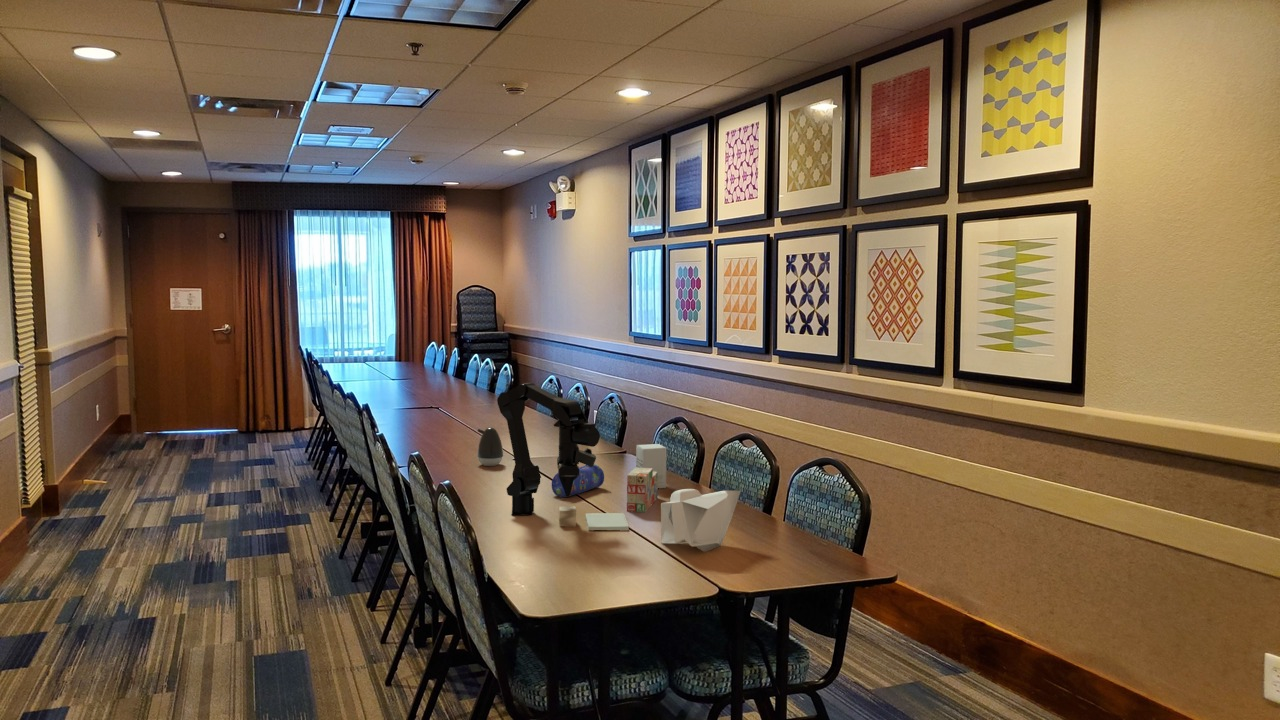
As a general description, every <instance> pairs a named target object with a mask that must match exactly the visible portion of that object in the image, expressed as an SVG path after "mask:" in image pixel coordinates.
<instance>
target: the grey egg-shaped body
mask: <svg viewBox="0 0 1280 720" xmlns="http://www.w3.org/2000/svg"><path fill="white" fill-rule="evenodd" d="M477 432H478V433H479V434H481V436H480V440H479V443H478V447H477V458H478V461H479V463H480V464H481V465H483V466H485V467H495V466H499V464H500V463H502V459H503V457H504V450H503V449H504V448H503V445H502V439H501V437H500V435H499V432H498V431H497V429H495V428H493V427H486V429H483V430H482V429H480V428H478V429H477Z"/></svg>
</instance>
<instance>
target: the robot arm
mask: <svg viewBox="0 0 1280 720" xmlns="http://www.w3.org/2000/svg"><path fill="white" fill-rule="evenodd" d="M529 400H530V401H532V402H534V403H536V404H538V405H541V406H542V407H544V408H546V409H548V410H549V411H550V412H551V414H552V415H553V416H554V418H556V419H557V421H556V422H555V423H554V424H553V427H556V428H558V456H557V458H556V464H557V471H558V472H557V473H558V475H559V479H560V481H561V484H562V486H563V489H564V492H565V494H566V497H568V498H569V497H571V496H570V494H571V490H572V485H573V481H574V480H575V479H576V478H578V477H579V468H580V466H578V465H579V464H582V465H588V466H589V467H593V465H594V464H595V462H596V460H597V456H596V455H595V454H594V453H593V452H592V449H590V448H588V447H591V448H594V447H595V446H598V444H599V442H600V438H601V434H600V432H599V430H598V428H596V424H595V423H594V422H593V423H589V420H588V419H587V417H586V415H585V412H584V410H583V408H582V407H581V403H580V402H579V401H577V400H574V399H570V398H562V397H560V396H557V395H555V394H553V393H551V392H549V391H547V390H545V389H544V388H542V387H540V386H537V384H535V383H534V382H526V383H524V382H523V383H520V384H519V385H517V386H516V387H513V388H512V389H509V390H507V391H502V392H500V393H499V394H498V397H497V399H496V403H497V406H498V409H499V412H500V414H501V415H502V416H503V418H504V419H505V420H506V424H507V428H508V434H509V438H510V444H511V448H512V454H513V460H514V467H513V469H512V475H511V476H512V482H510V484H509V485H508V486H507V487H506V488H505V489H506V494H507V496H509V497H510V496H511V501H512V503H511V516H532V515H533V512H535V497H533V494H537V493H538V489H539V487H540V484H541V479H542V475H541V473H540V467H539V465H535V464H534V463H533V462H532V460H531V456H530V450H529V445H528V440H527V434H526V428H525V425H524V420H523V416H524V412H525V409H526V403H527V402H528V401H529ZM579 445H580V446H586V447H587V448H585V449H584V450H583V449H582V450H581V449H580V448H579ZM566 497H565V498H566Z"/></svg>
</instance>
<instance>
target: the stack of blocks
mask: <svg viewBox="0 0 1280 720" xmlns="http://www.w3.org/2000/svg"><path fill="white" fill-rule="evenodd" d="M626 479H627V484H626V491H627V492H626V512H631V511H633V512H635V513H646V512H647V511H648V510H649V509H650V508H649V507H651V506H652V505H653V503H654V502H655V501H656V500H657V498H658V481H657V472H653V468H636V466H635V467H634V468H633V469H632V470H631V471H630V472H629V473H627V478H626ZM651 504H652V505H651ZM648 508H649V509H648ZM633 512H632V513H633Z"/></svg>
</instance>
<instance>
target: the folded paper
mask: <svg viewBox="0 0 1280 720" xmlns="http://www.w3.org/2000/svg"><path fill="white" fill-rule="evenodd" d="M741 492H742V491H741V490H721V491H715V492H710V493H706V494H702V493H701V492H700V491H699V490H698V489H696V488H695V489H694V488H684V489H683V488H682V489H679V490H674V491H673V492H672V493H671V495H670V499H669V500H670V501H667V502H661V503H660V533H661V534H660V536H661V537H660V538H661V542H660V543H661V544H679V543H687V544H688V545H689V546H691V547H696V549H699V550H701V551H702V552H703V553H706V552H709V551H711V550H713V548H714V549H716V548H718V547H721V546H722V545H723V542H724V539H725V537H726V534H727V532H728V529H729V526H730V524H731V520H732V519H733V515H734V513H735V510H736V507H737V503H738V501H739V497H740V496H741V495H740V494H741ZM708 550H709V551H708ZM705 551H706V552H705Z"/></svg>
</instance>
